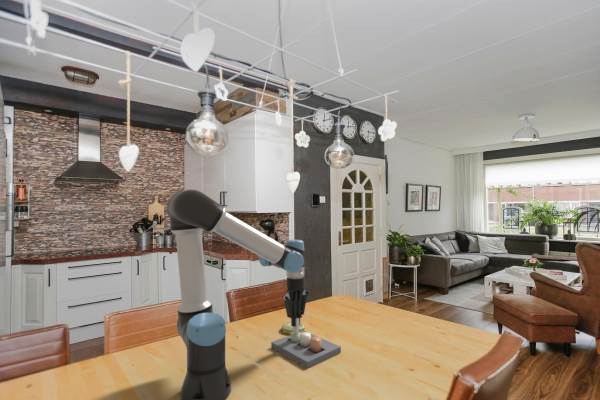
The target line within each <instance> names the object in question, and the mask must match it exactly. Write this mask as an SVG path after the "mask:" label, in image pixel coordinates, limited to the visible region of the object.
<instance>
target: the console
mask: <svg viewBox="0 0 600 400" xmlns="http://www.w3.org/2000/svg"><path fill="white" fill-rule="evenodd" d="M303 332H308V331H306V330H305V329H304V330H303V331H300V333H303ZM308 333H310V334H311V338H312V337H319V336H318V335H316V334H313V333H311V332H308ZM320 338H321V347H322V350H321V351H320V352H313V351H311V350H310V346H308V347H303V346H301V345H300V342H298V343H296V344H295V343H293V342H291V334H288V335H286V336H284V337H282V338H279V339H276V340H273V341H271V348H272V349H274V350H275V351H276V352H278V353H280V354H282V355H284V356H285V357H287V358H289V359H291V360H293V361H294V362H296V363H298V364H300V365H301V366H303V367H305V368H307V369H310V368H312V367H313V366H315V365H318V364H320V363H323V362H324V361H326V360H329V359H331V358H332V357H334V356H337V355H338V354H341V353H342V346H340V345H338V344H335V343H333V342H331V341H328V340H327V339H325V338H323V337H320Z"/></svg>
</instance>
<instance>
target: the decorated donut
mask: <svg viewBox="0 0 600 400" xmlns="http://www.w3.org/2000/svg"><path fill="white" fill-rule="evenodd" d="M305 328H306V327H305V325H304V324H303V323H302V322H300V325H299V332H300V331H303V330H304V331H305ZM281 331H282V333H284V334H286V335H291V333H292V325H291V321H288V322H285V323H283V324H282V325H281Z"/></svg>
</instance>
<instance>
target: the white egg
mask: <svg viewBox="0 0 600 400" xmlns="http://www.w3.org/2000/svg"><path fill="white" fill-rule="evenodd" d="M310 333H311V332H309V333H308V331H306V332H303V333H300V345H301V346H303V347H308V346H310V338H311V334H312V333H311V334H310Z"/></svg>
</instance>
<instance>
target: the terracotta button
mask: <svg viewBox="0 0 600 400" xmlns="http://www.w3.org/2000/svg"><path fill="white" fill-rule="evenodd" d="M321 338H322V337H320V336H318V337H312V338H310V350H311V351H313V352H320V351H321V350H322V347H321Z"/></svg>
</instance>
